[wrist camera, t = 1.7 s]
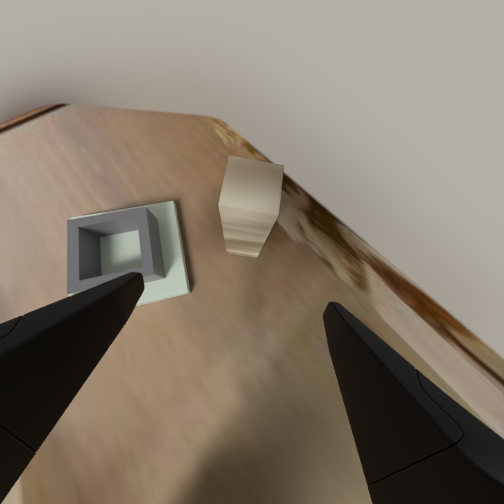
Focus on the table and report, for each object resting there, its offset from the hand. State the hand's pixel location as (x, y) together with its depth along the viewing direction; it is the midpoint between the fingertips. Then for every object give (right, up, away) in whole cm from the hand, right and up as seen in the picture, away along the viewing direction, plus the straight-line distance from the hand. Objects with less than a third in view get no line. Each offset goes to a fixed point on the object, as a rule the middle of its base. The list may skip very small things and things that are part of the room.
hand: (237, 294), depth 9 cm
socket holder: (-14, +1, +13) cm, 19 cm away
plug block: (0, +3, +15) cm, 16 cm away
